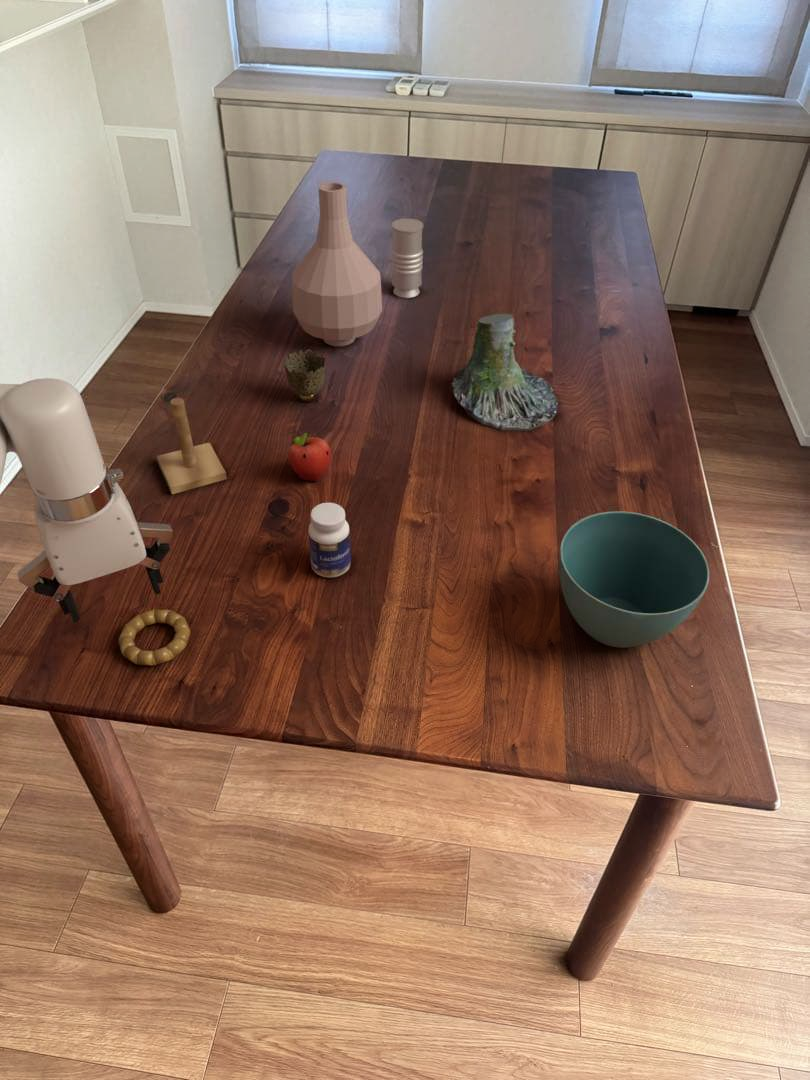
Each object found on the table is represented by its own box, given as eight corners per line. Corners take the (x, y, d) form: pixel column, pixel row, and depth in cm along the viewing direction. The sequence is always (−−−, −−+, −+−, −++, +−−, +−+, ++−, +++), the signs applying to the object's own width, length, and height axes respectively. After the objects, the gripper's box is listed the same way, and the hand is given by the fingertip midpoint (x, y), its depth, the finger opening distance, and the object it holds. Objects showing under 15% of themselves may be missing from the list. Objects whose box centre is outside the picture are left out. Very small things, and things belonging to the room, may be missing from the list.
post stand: (171, 494, 125) (154, 423, 116) (157, 463, 131) (140, 393, 122) (227, 479, 128) (214, 408, 119) (210, 449, 134) (197, 379, 125)
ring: (129, 677, 99) (126, 668, 98) (114, 629, 105) (111, 620, 104) (198, 653, 102) (196, 644, 101) (180, 607, 108) (177, 598, 107)
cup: (336, 398, 146) (334, 359, 140) (306, 414, 142) (302, 375, 136) (309, 383, 150) (306, 344, 144) (279, 398, 146) (274, 359, 140)
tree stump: (499, 447, 136) (488, 347, 127) (434, 416, 151) (420, 325, 142) (579, 410, 143) (574, 313, 133) (510, 384, 158) (501, 295, 149)
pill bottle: (322, 584, 111) (318, 532, 104) (304, 560, 115) (299, 508, 108) (358, 569, 114) (356, 517, 107) (339, 546, 117) (336, 494, 110)
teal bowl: (664, 574, 114) (685, 510, 105) (701, 677, 100) (730, 613, 92) (538, 575, 113) (549, 510, 105) (558, 679, 100) (574, 614, 91)
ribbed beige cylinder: (420, 284, 181) (422, 218, 170) (422, 298, 176) (424, 231, 165) (390, 284, 180) (390, 218, 170) (391, 298, 175) (391, 231, 165)
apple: (287, 466, 131) (281, 415, 124) (328, 460, 132) (324, 410, 125) (294, 495, 125) (289, 444, 119) (336, 489, 127) (334, 437, 120)
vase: (313, 312, 170) (303, 165, 149) (392, 324, 167) (393, 175, 146) (282, 352, 158) (267, 198, 137) (367, 366, 154) (364, 210, 134)
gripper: (147, 450, 89) (178, 557, 101) (-16, 495, 84) (37, 603, 96) (164, 487, 85) (194, 596, 96) (-8, 538, 79) (46, 647, 91)
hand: (116, 600), depth 96 cm, fingers open, 9 cm apart
